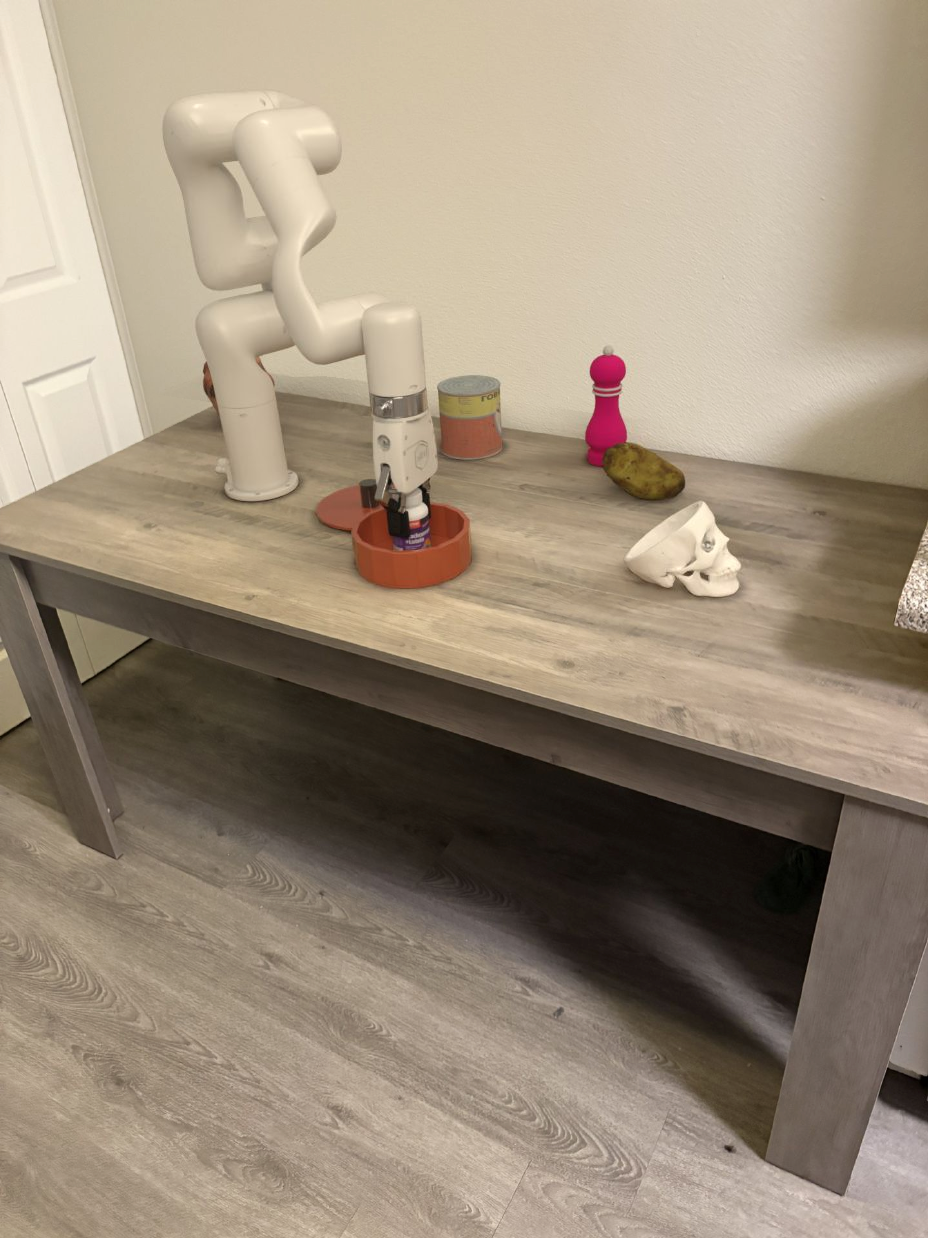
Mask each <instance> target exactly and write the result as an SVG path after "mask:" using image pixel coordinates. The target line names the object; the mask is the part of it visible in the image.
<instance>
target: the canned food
mask: <svg viewBox="0 0 928 1238" xmlns="http://www.w3.org/2000/svg"><path fill="white" fill-rule="evenodd" d="M436 389H437V398H438V411H439V426H440V441H441V442H440V443H441V453H442V454H443V455H444V456H446V457H448V458H450V459H453V460H461V461H476V460H483V459H488V458H491V457H494V456H496V455H497V454H499V453H501V452H502V450H503V438H502V434H503V433H502V406H501V381H500V380H498V379H497V378H495V377H492V376H489V375H480V374H479V375H478V374H477V375H476V374H475V375H474V374H471V375H469V374H468V375H460V376H454V377H449V378H446V379H443V380H442V381H440V382H438V384H437V386H436Z"/></svg>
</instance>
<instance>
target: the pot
mask: <svg viewBox="0 0 928 1238" xmlns="http://www.w3.org/2000/svg"><path fill="white" fill-rule="evenodd" d="M430 509H431V518H430V519H429V529H430V541H431V547H429V548H424V549H419V550H401V551H394V549H393V538H392V536H390V535H389V532H388V523H387V513H386V511H384V507H381V508H379V509H376V510H374V511H371V512H369V513H366V514H365V515H364V516H362V517H361V518H360V519H359V520H357V521H356V522H355V523H354V526H353V529H352V531H350V536H351V543H352V550H353V559H354V564H355V566H356V569H357V571H358V574H359V575H360V576H361V577H362V578H363V579H364V580H366V581H368V582H370V583H372V584H374V585H378V586H380V587H385V588H391V589H419V588H427V587H431V586H436V585H440V584H443V583H446V582H449V581H451V580H452V579H454V578H456V577H458V576H459V575H461V574H463V572H464V571H466V570H467V568H468V567H469V566H470V564H471V561H472V549H473V548H472V535H471V534H472V533H471V532H472V531H471V519H470V518H469V517H468V516H467V514H466V513H465V512H464V511H463V510H462V509H459V508H457V507H454V506H452V505H449V504H445V503H440V502H432V501H430Z"/></svg>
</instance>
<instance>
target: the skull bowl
mask: <svg viewBox="0 0 928 1238" xmlns="http://www.w3.org/2000/svg"><path fill="white" fill-rule="evenodd" d="M729 540H730V538H729V537H728V536H726V535H725V533H724V532H722V531H721V530H720V529H719V528H718V526H717V524H716V517H715V515H714V513H713V512H712V511H711V508H710V507H709V505H708V504H707V503H706V502H705V501H703V500H698V501H695V502H694V503H692V504H690V505H688V506H686V507H684V508H682V509H680V510H678V511H676V512H675V513H673V514H672V515H669V516H668V517H667V518H666V519H664V520H662V521H661V522H660V523H658V524H657V525H656V526H654V527H653V528H652V529H651V530H649V531H648V532H647V533H646V534H644V535H643V536H642V537H640V539H639V540H637V541H636V542H635V543H634V544H633V545H632V546H631V547H630V548H629V550H628V551H627V552H626V554H625V556H624V557H623V562H624V564H625V566H627V568H628V569H629V570H630V572H631V573H633V574H635V575H636V576H638V577H639V578H640V579H642V580H643V581H646V582H647V583H651V584H656V585H658V586H660V587H663V588H667V589H670V588H673V587H674V583H675V581H676V580H677V579H678V580H679V581H680V582H681V583H682V584H683V585H684V586H685V588H686V589H687V591H688V592H689V593H691V594H692V595H694V596H698V597H711V598H724V597H728V596H732V595H734V594H736V592H738V590H739V588H740V582H739V580H738V578H737V575H738V573H739V571H740V570H741V568H742V564H741V562H740V561H739V560H738V558H737V557H736V556H734V555H732V553H731V552H730V551H729V549H728V542H729ZM689 571H693V573H692V574H691V575H689V576H687V575H684V574H685V573H687V572H689ZM701 574H704V575H706V576H707V577H708V580H706V579H704V578H702V577H701Z"/></svg>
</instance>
